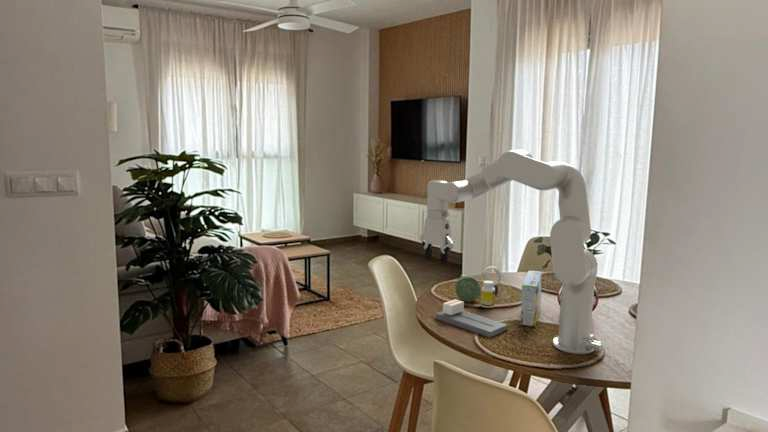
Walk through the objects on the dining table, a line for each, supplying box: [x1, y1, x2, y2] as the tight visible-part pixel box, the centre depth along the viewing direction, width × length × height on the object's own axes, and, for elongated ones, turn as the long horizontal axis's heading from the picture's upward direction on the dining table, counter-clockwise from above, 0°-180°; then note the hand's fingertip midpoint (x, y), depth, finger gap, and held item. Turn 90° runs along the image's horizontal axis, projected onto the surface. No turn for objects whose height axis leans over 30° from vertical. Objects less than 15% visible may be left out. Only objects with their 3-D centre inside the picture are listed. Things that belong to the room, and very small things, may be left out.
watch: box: [482, 265, 503, 294], centre depth 222 cm, size 6×8×11 cm
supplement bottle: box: [479, 280, 496, 309], centre depth 203 cm, size 5×5×10 cm
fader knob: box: [442, 298, 465, 315], centre depth 189 cm, size 4×7×4 cm, turn 133°
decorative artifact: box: [454, 275, 482, 302], centre depth 208 cm, size 10×7×10 cm
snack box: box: [520, 270, 543, 328], centre depth 191 cm, size 21×6×15 cm, turn 159°
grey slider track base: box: [435, 310, 509, 338], centre depth 184 cm, size 24×10×2 cm, turn 43°
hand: (436, 261), depth 193 cm, fingers open, 6 cm apart
